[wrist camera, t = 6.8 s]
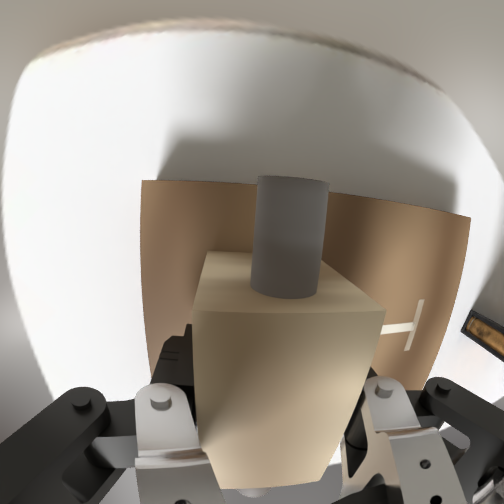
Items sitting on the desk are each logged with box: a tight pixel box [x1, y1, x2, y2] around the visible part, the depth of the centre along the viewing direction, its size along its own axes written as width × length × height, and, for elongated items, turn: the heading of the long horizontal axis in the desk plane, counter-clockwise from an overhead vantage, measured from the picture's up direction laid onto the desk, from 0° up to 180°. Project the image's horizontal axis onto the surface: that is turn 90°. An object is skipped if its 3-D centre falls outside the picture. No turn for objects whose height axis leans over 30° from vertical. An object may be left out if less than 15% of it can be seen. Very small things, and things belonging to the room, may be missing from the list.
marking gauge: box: [192, 176, 387, 497], centre depth 8 cm, size 4×12×5 cm, turn 175°
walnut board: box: [140, 180, 471, 390], centre depth 12 cm, size 16×12×2 cm
